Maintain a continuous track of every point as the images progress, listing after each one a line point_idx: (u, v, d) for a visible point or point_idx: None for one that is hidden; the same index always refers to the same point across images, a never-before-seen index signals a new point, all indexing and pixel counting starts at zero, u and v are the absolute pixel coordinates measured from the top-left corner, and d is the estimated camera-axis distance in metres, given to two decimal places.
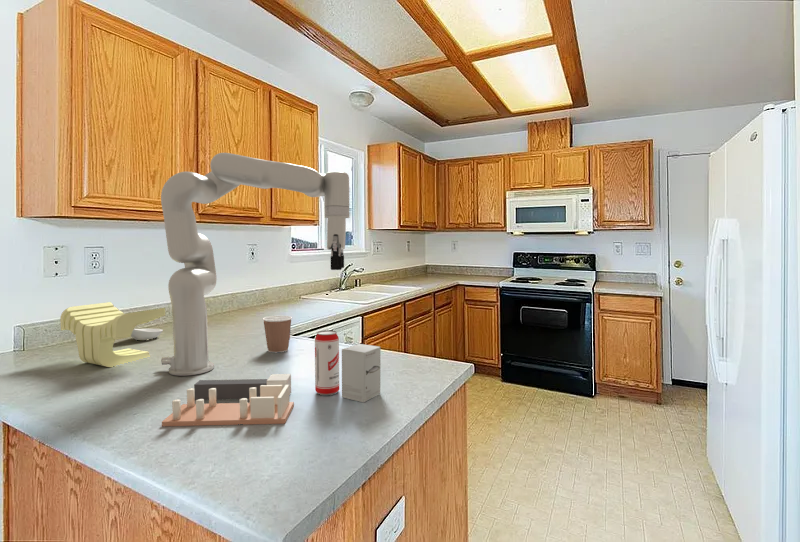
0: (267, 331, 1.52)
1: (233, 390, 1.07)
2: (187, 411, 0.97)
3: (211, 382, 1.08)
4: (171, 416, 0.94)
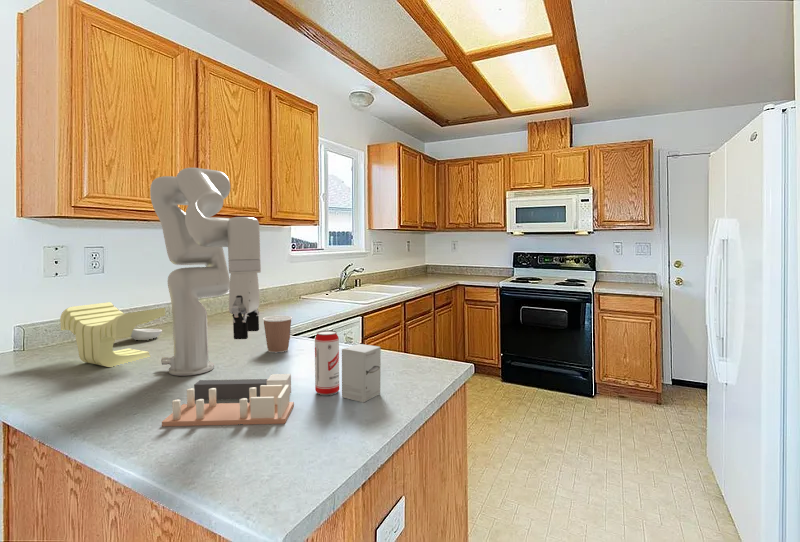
0: (267, 331, 1.52)
1: (233, 390, 1.07)
2: (187, 411, 0.97)
3: (211, 382, 1.08)
4: (171, 416, 0.94)
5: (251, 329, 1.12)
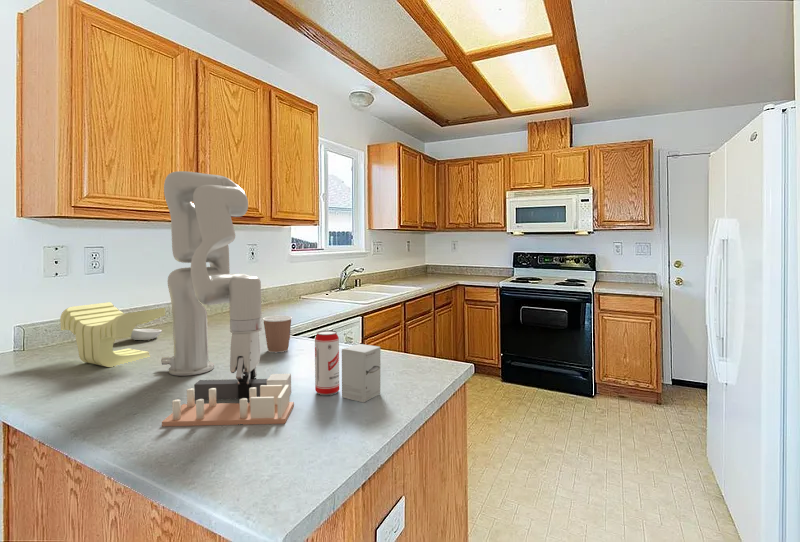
0: (267, 331, 1.52)
1: (233, 390, 1.07)
2: (187, 411, 0.97)
3: (211, 382, 1.08)
4: (171, 416, 0.94)
5: None
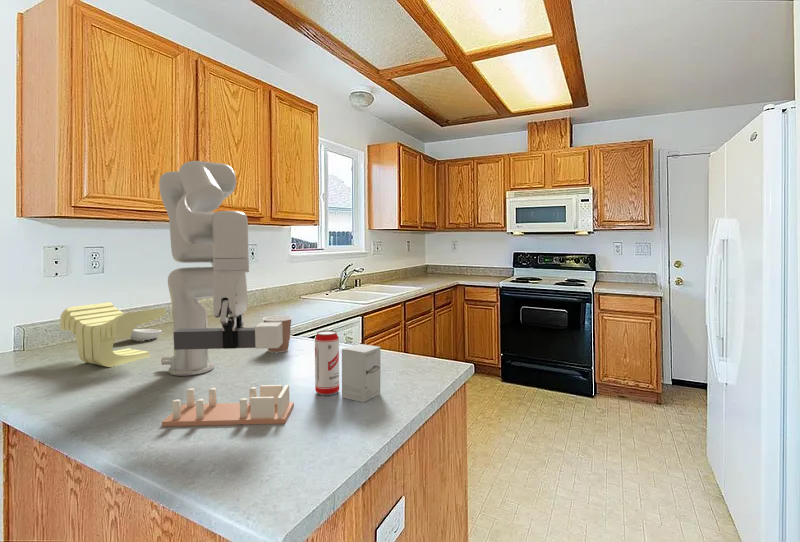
0: None
1: (217, 338, 0.96)
2: (187, 411, 0.97)
3: (193, 330, 0.97)
4: (171, 416, 0.94)
5: None
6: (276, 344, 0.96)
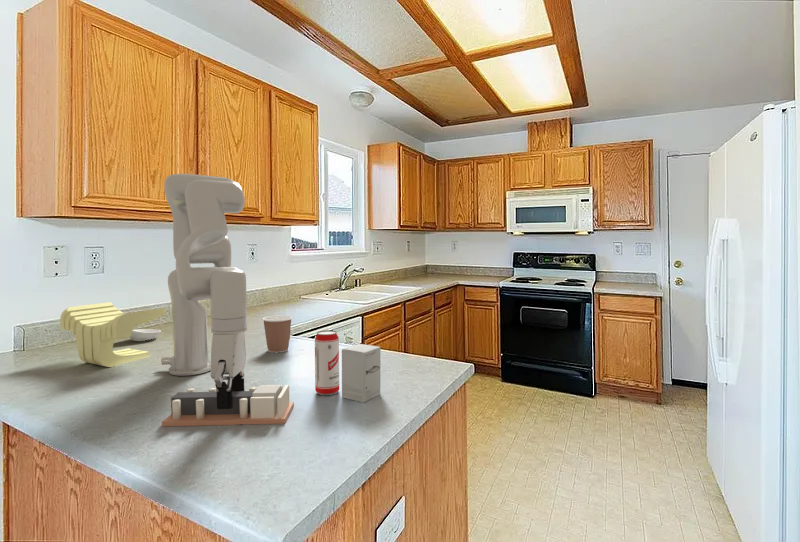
0: (267, 331, 1.52)
1: (215, 404, 0.95)
2: None
3: (191, 395, 0.96)
4: (171, 416, 0.94)
5: None
6: None
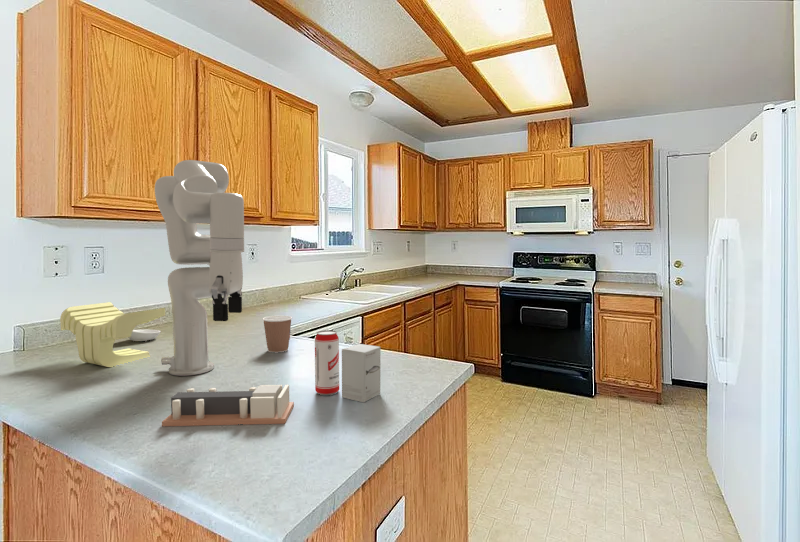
0: (267, 331, 1.52)
1: (215, 404, 0.95)
2: None
3: (191, 395, 0.96)
4: (171, 416, 0.94)
5: (233, 310, 1.08)
6: None
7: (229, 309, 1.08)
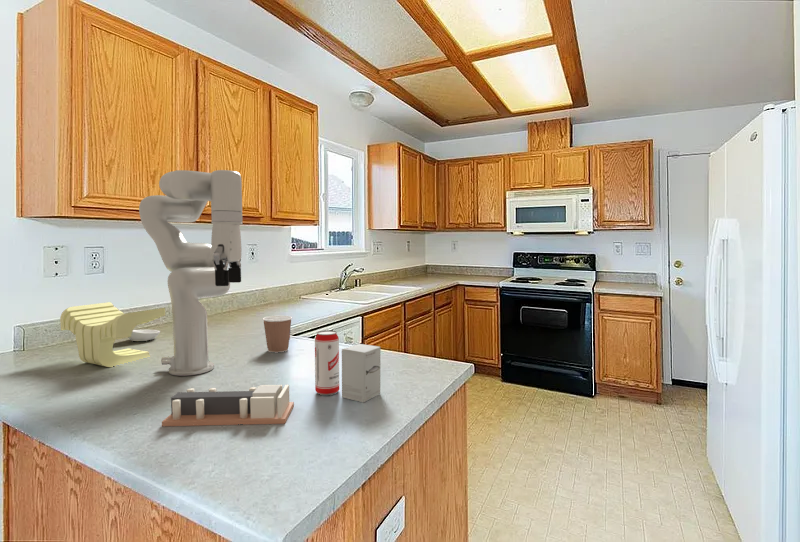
0: (267, 331, 1.52)
1: (215, 404, 0.95)
2: None
3: (191, 395, 0.96)
4: (171, 416, 0.94)
5: (233, 280, 1.17)
6: None
7: (229, 279, 1.17)
